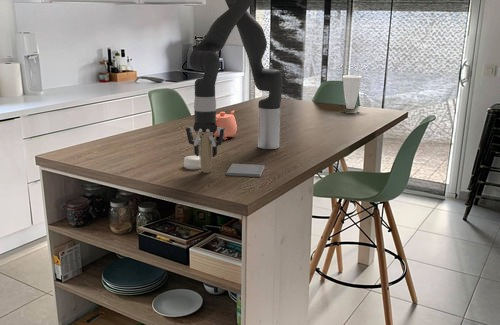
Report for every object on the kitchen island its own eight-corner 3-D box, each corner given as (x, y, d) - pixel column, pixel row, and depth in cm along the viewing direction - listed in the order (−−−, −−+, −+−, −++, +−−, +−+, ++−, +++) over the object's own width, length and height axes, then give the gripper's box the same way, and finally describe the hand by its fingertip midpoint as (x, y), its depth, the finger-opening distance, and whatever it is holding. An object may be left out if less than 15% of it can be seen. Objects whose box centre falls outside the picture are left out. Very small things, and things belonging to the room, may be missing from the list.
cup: (355, 114, 304) (357, 77, 298) (337, 112, 310) (339, 76, 304) (362, 111, 313) (364, 76, 307) (344, 109, 319) (346, 74, 313)
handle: (200, 169, 188) (200, 128, 184) (216, 171, 186) (216, 130, 182) (195, 172, 183) (194, 131, 179) (211, 174, 181) (211, 133, 177)
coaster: (232, 166, 192) (232, 163, 192) (264, 167, 190) (264, 165, 190) (226, 175, 180) (226, 172, 180) (260, 177, 179) (260, 174, 179)
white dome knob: (187, 164, 195) (187, 155, 194) (205, 165, 194) (205, 156, 193) (182, 169, 188) (182, 159, 187) (200, 170, 187) (200, 160, 186)
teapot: (223, 142, 229) (222, 116, 226) (200, 139, 235) (200, 113, 232) (244, 134, 246) (244, 109, 243) (223, 132, 252) (223, 107, 249)
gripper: (227, 107, 181) (227, 154, 185) (187, 106, 183) (188, 152, 187) (223, 111, 174) (223, 159, 178) (182, 110, 176) (183, 157, 180)
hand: (205, 155), depth 183 cm, fingers open, 5 cm apart
